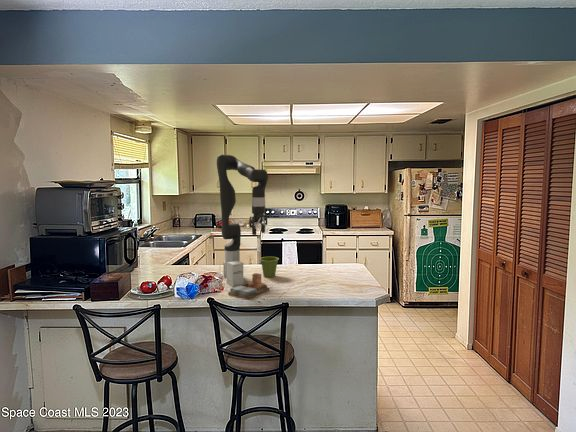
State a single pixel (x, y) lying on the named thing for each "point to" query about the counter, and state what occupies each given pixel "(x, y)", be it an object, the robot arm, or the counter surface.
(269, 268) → the plant pot
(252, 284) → the stub
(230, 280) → the supplement box
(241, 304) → the counter surface
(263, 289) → the ticket board
